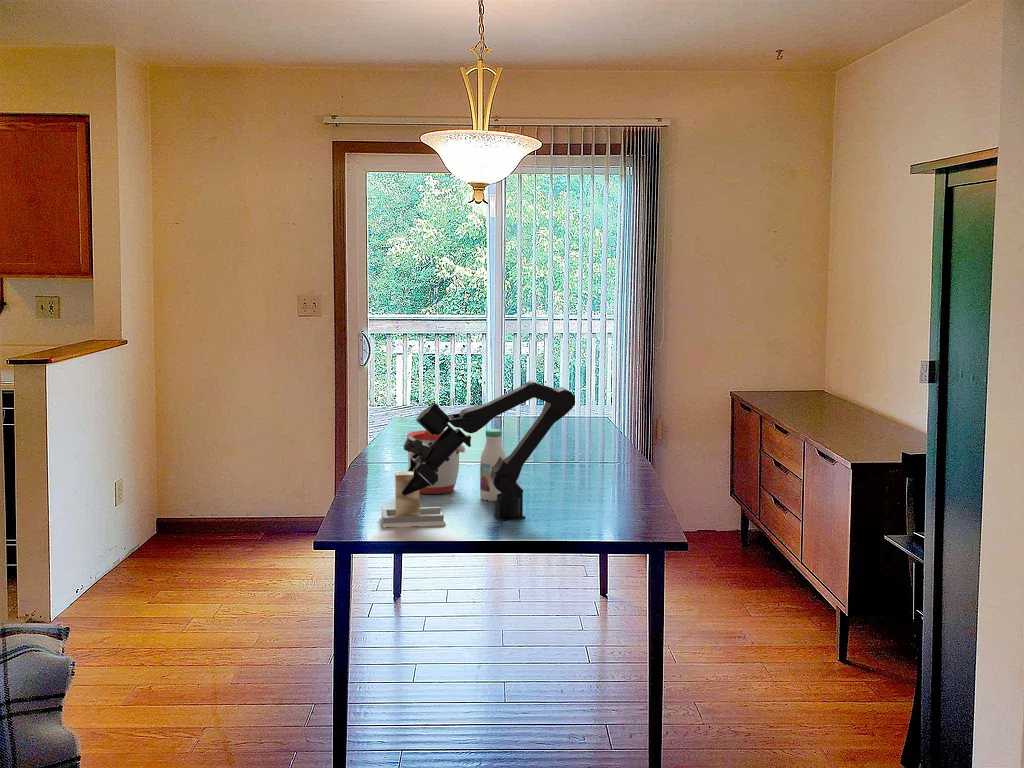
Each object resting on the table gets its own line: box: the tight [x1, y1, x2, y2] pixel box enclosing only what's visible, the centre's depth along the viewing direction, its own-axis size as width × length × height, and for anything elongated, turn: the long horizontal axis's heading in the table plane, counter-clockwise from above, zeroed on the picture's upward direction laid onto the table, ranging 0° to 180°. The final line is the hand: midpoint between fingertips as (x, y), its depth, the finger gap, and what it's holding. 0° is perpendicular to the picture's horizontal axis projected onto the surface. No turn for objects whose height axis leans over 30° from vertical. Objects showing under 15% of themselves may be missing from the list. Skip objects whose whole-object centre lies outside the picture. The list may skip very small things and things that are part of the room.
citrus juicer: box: [406, 429, 467, 495], centre depth 281 cm, size 16×17×20 cm
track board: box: [381, 506, 446, 529], centre depth 249 cm, size 16×10×2 cm, turn 100°
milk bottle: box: [479, 428, 508, 502], centre depth 272 cm, size 8×8×20 cm
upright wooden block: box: [394, 470, 420, 516], centre depth 248 cm, size 6×4×12 cm, turn 100°
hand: (401, 490), depth 247 cm, fingers open, 9 cm apart
